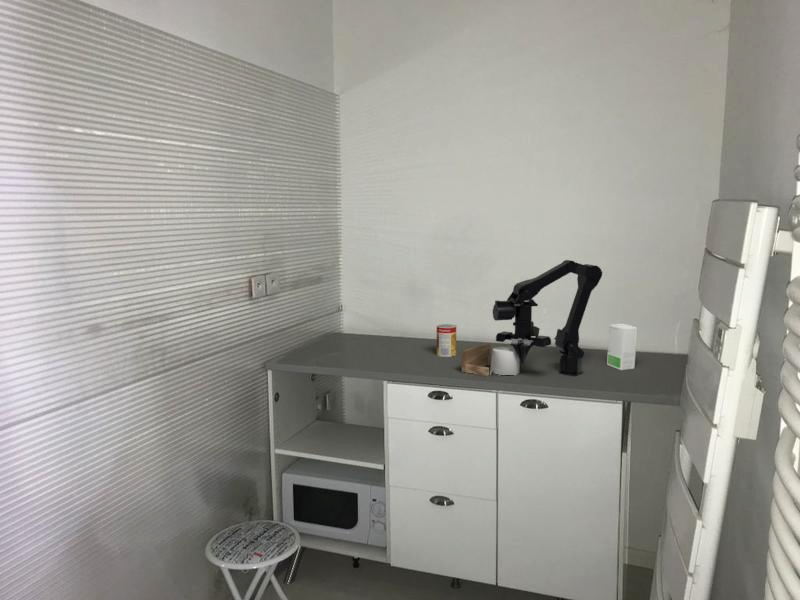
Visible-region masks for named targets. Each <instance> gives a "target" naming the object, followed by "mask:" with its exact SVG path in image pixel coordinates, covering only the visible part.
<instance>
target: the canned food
mask: <svg viewBox="0 0 800 600" xmlns="http://www.w3.org/2000/svg"><path fill="white" fill-rule="evenodd" d="M436 356H437V357H440V358H441V357H442V358H452V356H454V357H456V356H457V325H456V324H453V323H441V324H436Z"/></svg>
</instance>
